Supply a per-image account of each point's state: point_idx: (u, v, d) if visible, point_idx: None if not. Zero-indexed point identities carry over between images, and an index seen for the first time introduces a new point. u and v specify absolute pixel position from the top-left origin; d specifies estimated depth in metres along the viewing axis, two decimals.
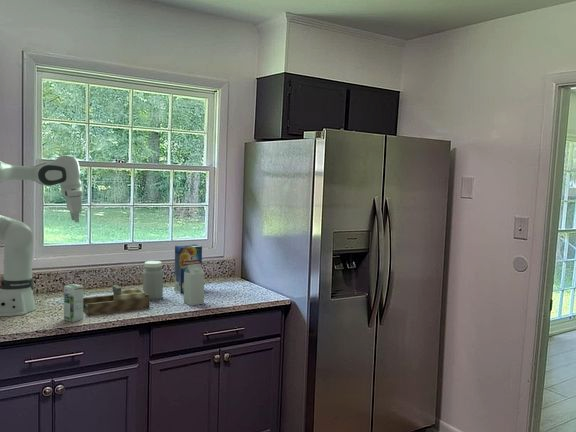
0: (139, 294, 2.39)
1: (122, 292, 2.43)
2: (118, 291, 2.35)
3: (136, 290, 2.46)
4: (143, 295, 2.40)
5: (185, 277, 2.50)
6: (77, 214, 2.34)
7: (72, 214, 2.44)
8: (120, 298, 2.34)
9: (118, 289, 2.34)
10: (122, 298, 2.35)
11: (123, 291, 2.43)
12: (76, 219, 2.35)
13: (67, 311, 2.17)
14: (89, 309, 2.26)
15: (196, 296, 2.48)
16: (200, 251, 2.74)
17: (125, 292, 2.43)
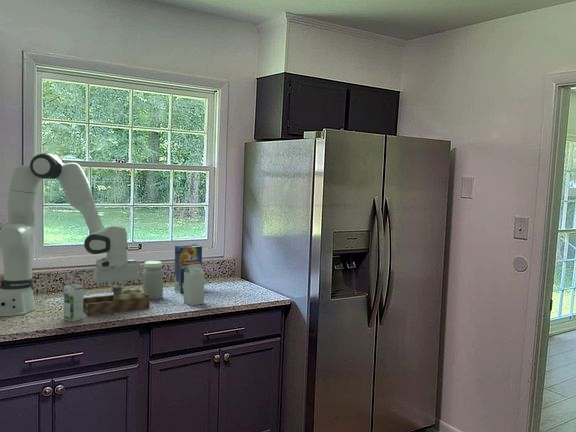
0: (139, 294, 2.39)
1: (122, 292, 2.43)
2: (118, 291, 2.35)
3: (136, 290, 2.46)
4: (143, 295, 2.40)
5: (185, 277, 2.50)
6: (109, 283, 2.35)
7: (121, 284, 2.39)
8: (120, 298, 2.34)
9: (118, 289, 2.34)
10: (122, 298, 2.35)
11: (123, 291, 2.43)
12: (111, 288, 2.36)
13: (67, 311, 2.17)
14: (89, 309, 2.26)
15: (196, 296, 2.48)
16: (200, 251, 2.74)
17: (124, 292, 2.43)
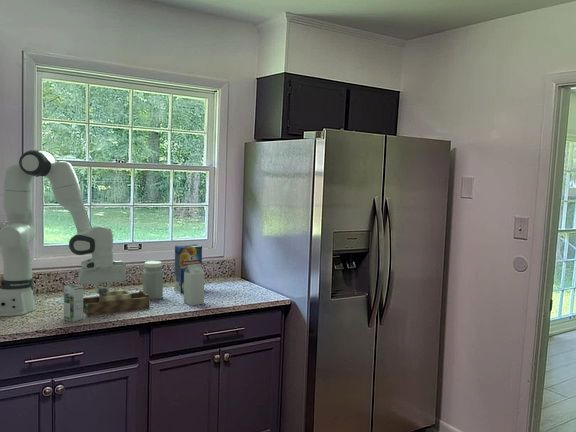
0: (125, 295, 2.36)
1: (108, 293, 2.39)
2: (104, 292, 2.31)
3: (122, 291, 2.43)
4: (129, 296, 2.37)
5: (185, 277, 2.50)
6: (94, 285, 2.32)
7: (107, 286, 2.35)
8: (106, 300, 2.31)
9: (104, 290, 2.31)
10: (108, 300, 2.31)
11: (109, 292, 2.40)
12: (96, 290, 2.33)
13: (67, 311, 2.17)
14: (89, 309, 2.26)
15: (196, 296, 2.48)
16: (200, 251, 2.74)
17: (111, 293, 2.40)
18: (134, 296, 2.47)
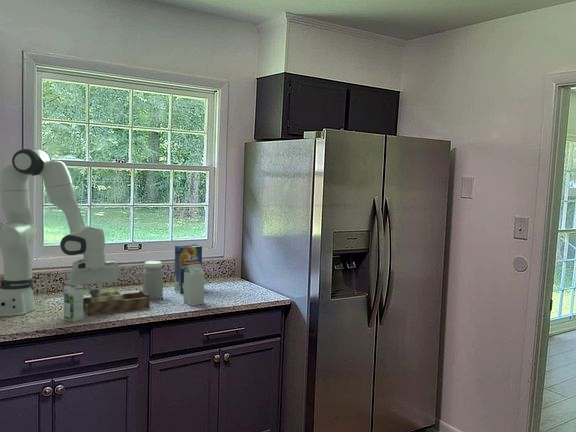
0: (117, 296, 2.34)
1: (100, 294, 2.37)
2: (95, 293, 2.29)
3: (115, 292, 2.41)
4: (121, 297, 2.35)
5: (185, 277, 2.50)
6: (86, 286, 2.30)
7: (99, 287, 2.33)
8: (97, 300, 2.29)
9: (95, 291, 2.29)
10: (99, 300, 2.29)
11: (101, 293, 2.38)
12: (88, 290, 2.31)
13: (67, 311, 2.17)
14: (89, 309, 2.26)
15: (196, 296, 2.48)
16: (200, 251, 2.74)
17: (103, 294, 2.38)
18: (134, 296, 2.47)
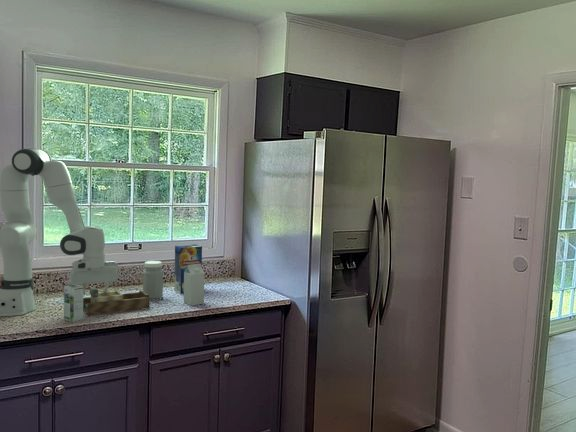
0: (117, 296, 2.34)
1: (100, 294, 2.37)
2: (95, 293, 2.29)
3: (114, 292, 2.41)
4: (121, 297, 2.35)
5: (185, 277, 2.50)
6: None
7: (105, 286, 2.35)
8: (97, 301, 2.29)
9: (95, 291, 2.29)
10: (99, 301, 2.29)
11: (101, 293, 2.37)
12: None
13: (67, 311, 2.17)
14: (89, 309, 2.26)
15: (196, 296, 2.48)
16: (200, 251, 2.74)
17: (102, 294, 2.38)
18: (134, 296, 2.47)
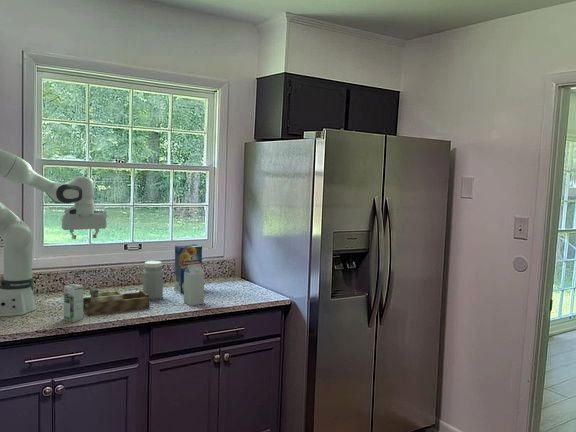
0: (117, 296, 2.34)
1: (100, 294, 2.37)
2: (95, 293, 2.29)
3: (114, 292, 2.41)
4: (121, 297, 2.35)
5: (185, 277, 2.50)
6: (70, 231, 2.48)
7: (95, 232, 2.55)
8: (97, 301, 2.29)
9: (95, 291, 2.29)
10: (99, 301, 2.29)
11: (101, 293, 2.37)
12: (72, 236, 2.50)
13: (67, 311, 2.17)
14: (89, 309, 2.26)
15: (196, 296, 2.48)
16: (200, 251, 2.74)
17: (102, 294, 2.38)
18: (134, 296, 2.47)
